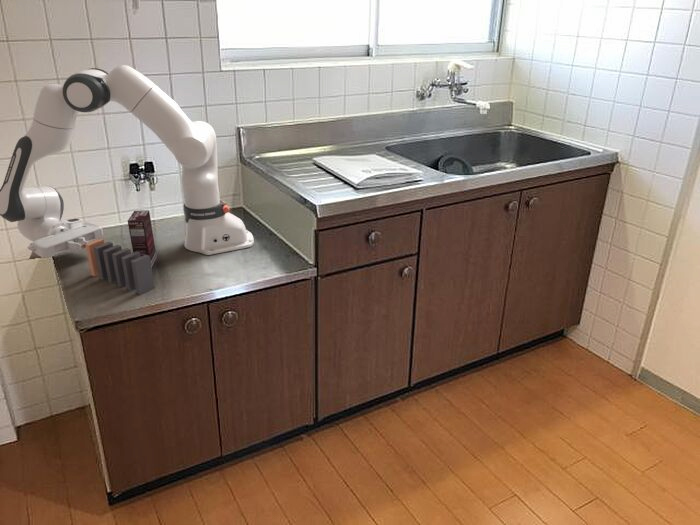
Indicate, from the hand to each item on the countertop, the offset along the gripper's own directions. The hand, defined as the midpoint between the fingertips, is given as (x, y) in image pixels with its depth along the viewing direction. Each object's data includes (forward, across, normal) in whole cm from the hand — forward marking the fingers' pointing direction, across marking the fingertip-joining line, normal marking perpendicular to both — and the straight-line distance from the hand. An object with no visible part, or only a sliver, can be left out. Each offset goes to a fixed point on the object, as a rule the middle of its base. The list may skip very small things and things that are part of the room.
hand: (84, 246), depth 176 cm
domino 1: (+5, 0, +8) cm, 9 cm away
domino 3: (+13, 0, +7) cm, 15 cm away
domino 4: (+17, 0, +7) cm, 19 cm away
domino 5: (+21, 0, +7) cm, 22 cm away
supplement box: (+11, +12, +8) cm, 18 cm away
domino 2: (+9, 0, +8) cm, 12 cm away
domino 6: (+25, 0, +7) cm, 26 cm away
